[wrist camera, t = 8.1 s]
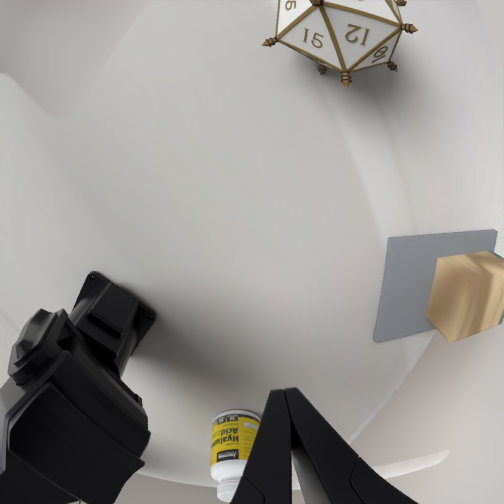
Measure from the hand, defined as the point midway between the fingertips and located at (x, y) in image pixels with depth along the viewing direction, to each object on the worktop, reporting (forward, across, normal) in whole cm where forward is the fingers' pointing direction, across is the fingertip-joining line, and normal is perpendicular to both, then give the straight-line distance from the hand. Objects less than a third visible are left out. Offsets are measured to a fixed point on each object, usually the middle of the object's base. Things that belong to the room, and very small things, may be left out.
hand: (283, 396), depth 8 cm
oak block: (+10, -16, +5) cm, 19 cm away
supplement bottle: (+13, +3, +20) cm, 24 cm away
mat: (+13, -18, +5) cm, 22 cm away
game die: (+13, -6, -15) cm, 21 cm away
